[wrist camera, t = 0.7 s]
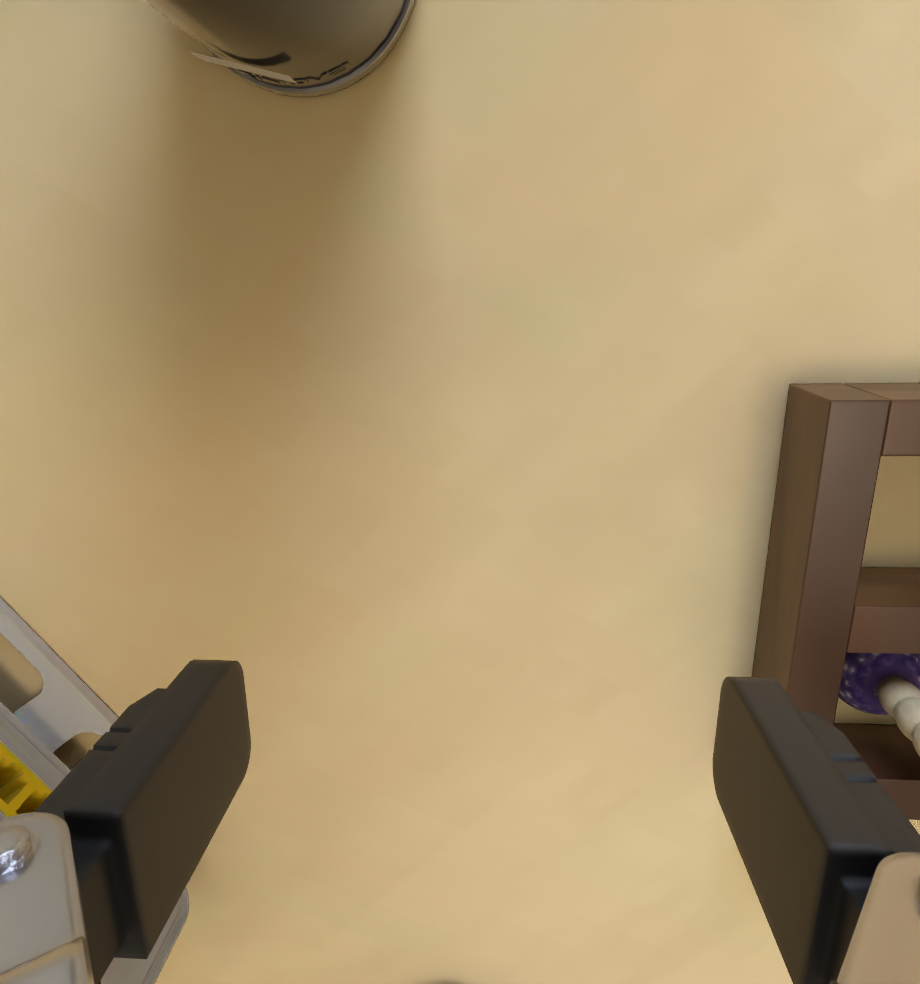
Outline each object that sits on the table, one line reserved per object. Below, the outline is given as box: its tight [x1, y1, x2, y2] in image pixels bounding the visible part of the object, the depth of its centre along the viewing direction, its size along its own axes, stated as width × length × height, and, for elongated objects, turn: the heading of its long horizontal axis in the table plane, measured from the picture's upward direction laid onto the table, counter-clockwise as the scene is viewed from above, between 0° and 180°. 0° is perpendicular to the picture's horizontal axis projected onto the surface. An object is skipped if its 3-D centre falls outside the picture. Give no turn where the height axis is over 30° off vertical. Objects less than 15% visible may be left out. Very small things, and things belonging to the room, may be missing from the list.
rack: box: [752, 383, 920, 820], centre depth 30 cm, size 11×19×4 cm, turn 1°
